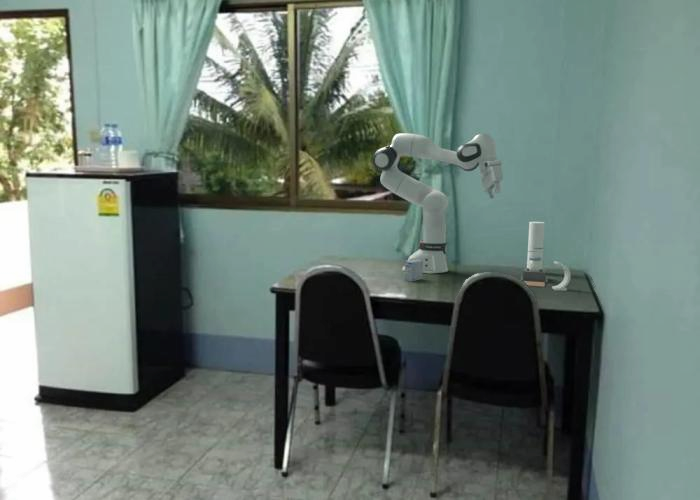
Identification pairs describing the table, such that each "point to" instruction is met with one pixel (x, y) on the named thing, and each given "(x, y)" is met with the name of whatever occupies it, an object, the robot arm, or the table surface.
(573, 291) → the table surface
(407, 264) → the medicine box
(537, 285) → the mat
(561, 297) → the table surface
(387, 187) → the robot arm
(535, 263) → the filter cartridge
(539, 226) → the cylindrical container
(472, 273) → the table surface
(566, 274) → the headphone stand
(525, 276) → the filter housing
